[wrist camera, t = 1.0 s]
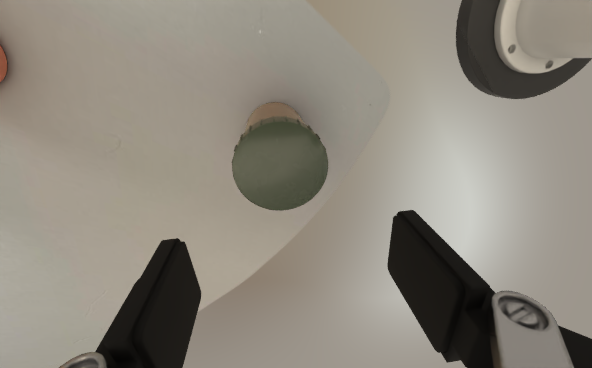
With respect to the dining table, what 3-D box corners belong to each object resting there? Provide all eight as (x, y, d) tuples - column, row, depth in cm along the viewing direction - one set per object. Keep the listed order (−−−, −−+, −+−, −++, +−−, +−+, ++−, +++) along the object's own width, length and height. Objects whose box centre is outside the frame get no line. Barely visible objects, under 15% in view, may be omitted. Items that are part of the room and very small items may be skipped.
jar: (274, 88, 26) (280, 104, 17) (315, 131, 29) (340, 166, 19) (233, 132, 28) (218, 169, 18) (275, 169, 30) (281, 218, 21)
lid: (279, 94, 18) (280, 97, 16) (341, 159, 21) (347, 167, 19) (214, 162, 20) (210, 171, 18) (280, 214, 22) (281, 226, 21)
